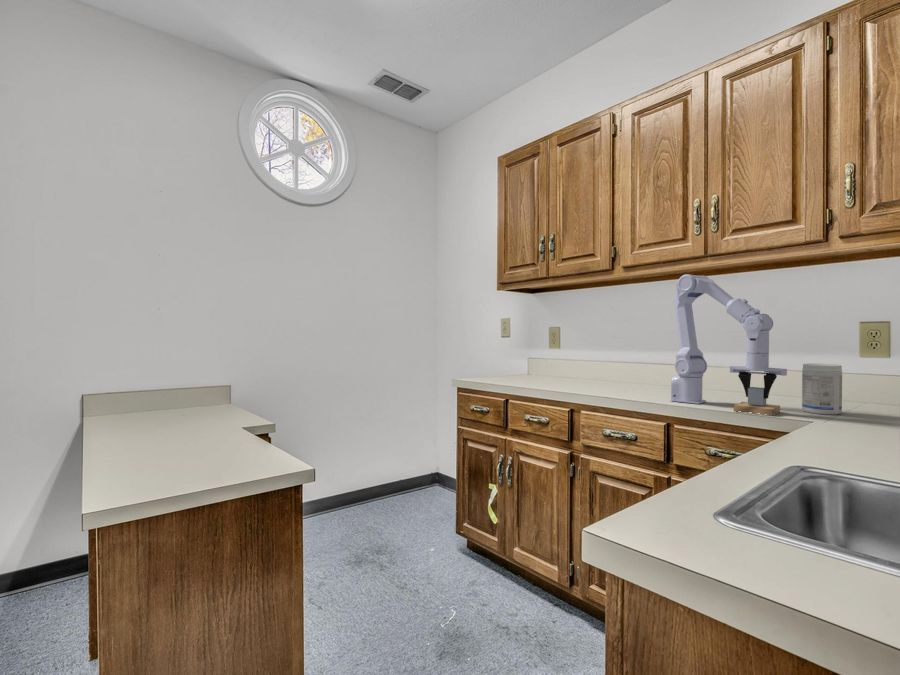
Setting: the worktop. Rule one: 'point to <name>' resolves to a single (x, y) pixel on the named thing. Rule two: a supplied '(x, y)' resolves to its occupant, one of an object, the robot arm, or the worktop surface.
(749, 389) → the block
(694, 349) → the robot arm
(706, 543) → the worktop surface
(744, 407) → the slab
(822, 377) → the supplement tub
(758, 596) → the worktop surface
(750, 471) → the worktop surface
